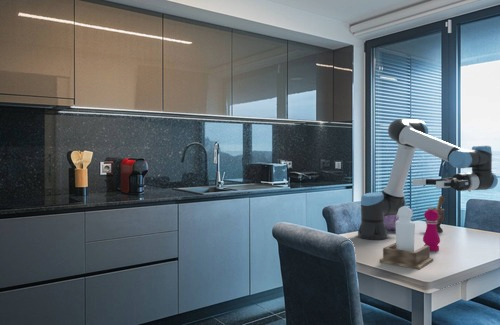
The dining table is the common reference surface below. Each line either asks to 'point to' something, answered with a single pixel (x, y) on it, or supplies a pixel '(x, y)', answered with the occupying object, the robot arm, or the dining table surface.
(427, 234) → the pepper mill
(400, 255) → the walnut holder
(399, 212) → the white plastic bottle
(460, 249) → the dining table surface
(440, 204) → the mortar and pestle
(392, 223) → the bowl of food
